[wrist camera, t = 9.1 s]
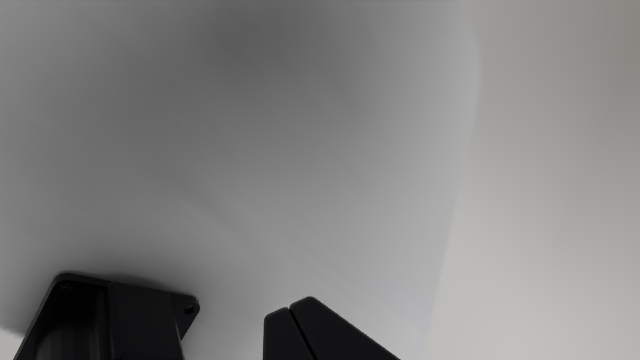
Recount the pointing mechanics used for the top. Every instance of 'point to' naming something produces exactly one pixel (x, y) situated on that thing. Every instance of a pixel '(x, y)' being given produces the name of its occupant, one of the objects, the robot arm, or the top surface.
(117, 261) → the top surface
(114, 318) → the robot arm
